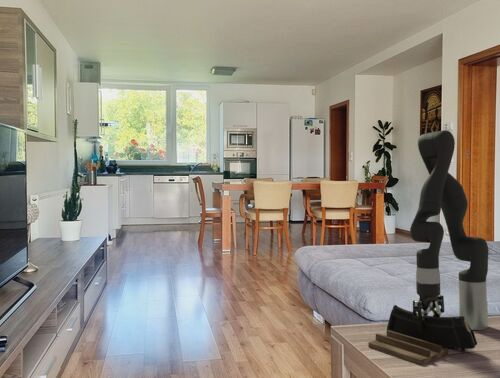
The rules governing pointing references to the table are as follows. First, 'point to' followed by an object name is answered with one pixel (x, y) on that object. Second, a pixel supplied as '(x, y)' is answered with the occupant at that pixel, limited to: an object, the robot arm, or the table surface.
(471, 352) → the table surface
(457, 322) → the magazine
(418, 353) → the stand
